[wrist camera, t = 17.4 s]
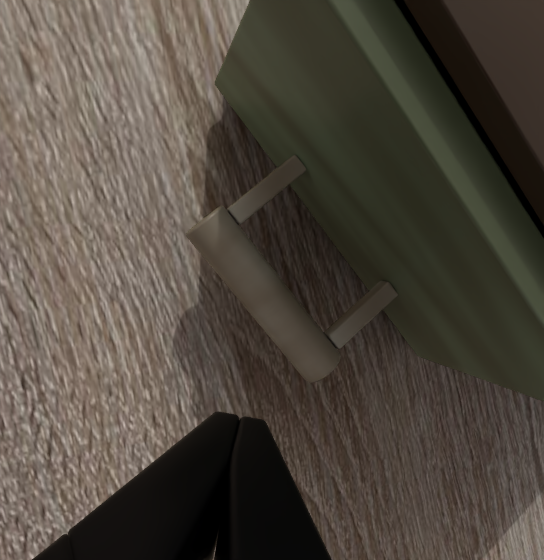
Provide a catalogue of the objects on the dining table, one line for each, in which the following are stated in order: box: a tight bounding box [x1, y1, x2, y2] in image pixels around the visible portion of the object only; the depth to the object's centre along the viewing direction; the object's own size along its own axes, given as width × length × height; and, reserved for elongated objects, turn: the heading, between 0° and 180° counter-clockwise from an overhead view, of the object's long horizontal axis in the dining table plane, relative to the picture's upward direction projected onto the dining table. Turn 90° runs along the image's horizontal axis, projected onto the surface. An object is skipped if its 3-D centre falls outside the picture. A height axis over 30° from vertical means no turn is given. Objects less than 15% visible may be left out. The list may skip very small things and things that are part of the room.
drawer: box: [186, 0, 544, 401], centre depth 14 cm, size 18×12×8 cm
